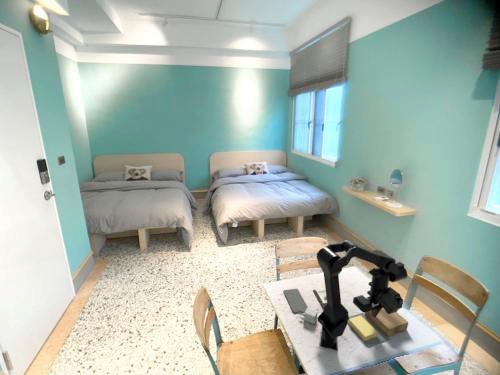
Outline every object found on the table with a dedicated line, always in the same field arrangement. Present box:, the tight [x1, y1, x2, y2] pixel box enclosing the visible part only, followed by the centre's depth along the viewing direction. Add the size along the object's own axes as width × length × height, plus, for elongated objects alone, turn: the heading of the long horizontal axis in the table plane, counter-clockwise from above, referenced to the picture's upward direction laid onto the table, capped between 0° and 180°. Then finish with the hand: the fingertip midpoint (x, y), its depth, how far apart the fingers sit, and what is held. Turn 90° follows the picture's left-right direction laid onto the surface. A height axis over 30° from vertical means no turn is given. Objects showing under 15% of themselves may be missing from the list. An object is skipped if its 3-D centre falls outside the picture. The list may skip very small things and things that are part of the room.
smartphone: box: [283, 288, 309, 314], centre depth 117 cm, size 8×1×15 cm
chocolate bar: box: [312, 288, 350, 317], centre depth 115 cm, size 9×1×18 cm
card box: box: [349, 315, 378, 342], centre depth 101 cm, size 6×9×2 cm, turn 20°
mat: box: [347, 312, 390, 348], centre depth 101 cm, size 10×14×1 cm
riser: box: [364, 308, 409, 338], centre depth 104 cm, size 10×12×4 cm
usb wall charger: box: [298, 307, 318, 325], centre depth 106 cm, size 4×7×4 cm, turn 59°
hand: (374, 316), depth 101 cm, fingers closed
